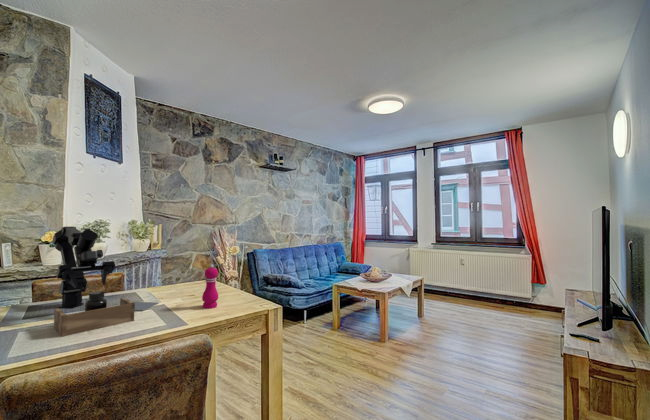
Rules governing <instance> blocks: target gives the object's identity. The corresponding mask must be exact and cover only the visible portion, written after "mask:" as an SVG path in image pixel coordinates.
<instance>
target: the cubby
mask: <svg viewBox="0 0 650 420" xmlns="http://www.w3.org/2000/svg"><path fill="white" fill-rule="evenodd" d="M133 302H134V301H131V300H129V299H127V298H125V297H120V301H119V303H120V304H118V305H113V306H108V307H106V308H101V309H95V310H90V311H85V310H84V311H81V312H80V311H79V312H72V313H69V314H66V313H65V312H64V311H63V310H62V309H60V308H59V307H58V308H54V316H53V317H54V318H53V329H54V330H55V331H56V332H57V333H58V334H59V336H61V337H66V336H72V335H75V334H79V333H85V332H90V331H94V330H98V329H102V328H107V327H112V326H116V325H120V324H125V322H126V323H130V322H133V321H135V311H134V310H135V303H133Z"/></svg>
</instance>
